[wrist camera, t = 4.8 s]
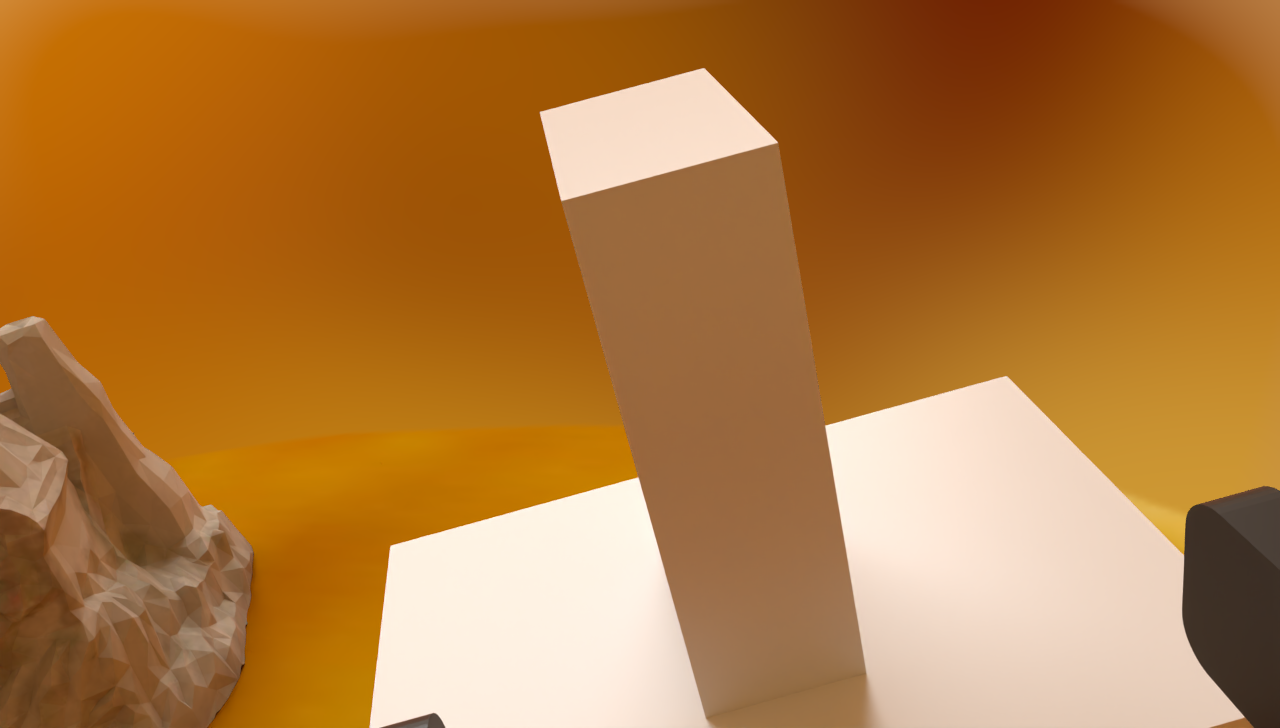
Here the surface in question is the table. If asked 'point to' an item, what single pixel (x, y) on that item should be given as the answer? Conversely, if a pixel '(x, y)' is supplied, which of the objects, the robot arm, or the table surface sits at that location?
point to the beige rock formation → (105, 561)
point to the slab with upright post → (778, 506)
